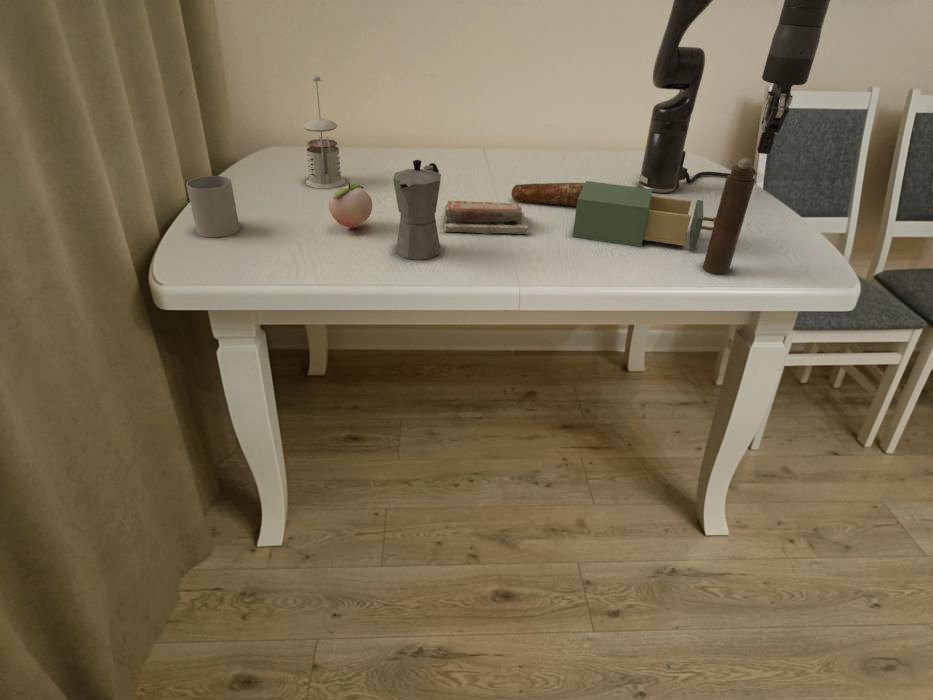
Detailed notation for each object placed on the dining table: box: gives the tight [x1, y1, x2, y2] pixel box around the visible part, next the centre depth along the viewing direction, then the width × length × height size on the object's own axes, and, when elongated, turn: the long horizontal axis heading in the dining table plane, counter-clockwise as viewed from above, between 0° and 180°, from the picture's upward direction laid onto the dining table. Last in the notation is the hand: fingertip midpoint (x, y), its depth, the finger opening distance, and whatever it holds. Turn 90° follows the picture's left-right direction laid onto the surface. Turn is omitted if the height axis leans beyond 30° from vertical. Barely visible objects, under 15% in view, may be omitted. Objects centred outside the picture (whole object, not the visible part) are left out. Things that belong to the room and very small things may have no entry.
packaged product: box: [443, 200, 529, 235], centre depth 135 cm, size 18×5×10 cm
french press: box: [302, 74, 346, 189], centre depth 149 cm, size 10×12×25 cm
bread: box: [511, 182, 585, 207], centre depth 148 cm, size 6×19×6 cm, turn 80°
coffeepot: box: [392, 159, 442, 261], centre depth 120 cm, size 15×9×18 cm, turn 159°
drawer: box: [643, 195, 716, 250], centre depth 130 cm, size 18×11×7 cm, turn 73°
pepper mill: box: [702, 156, 756, 276], centre depth 115 cm, size 5×5×22 cm
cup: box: [186, 175, 240, 238], centre depth 127 cm, size 8×8×10 cm
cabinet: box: [572, 180, 653, 248], centre depth 133 cm, size 14×12×8 cm
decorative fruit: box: [328, 181, 373, 229], centre depth 129 cm, size 9×8×10 cm
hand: (762, 152), depth 119 cm, fingers closed
